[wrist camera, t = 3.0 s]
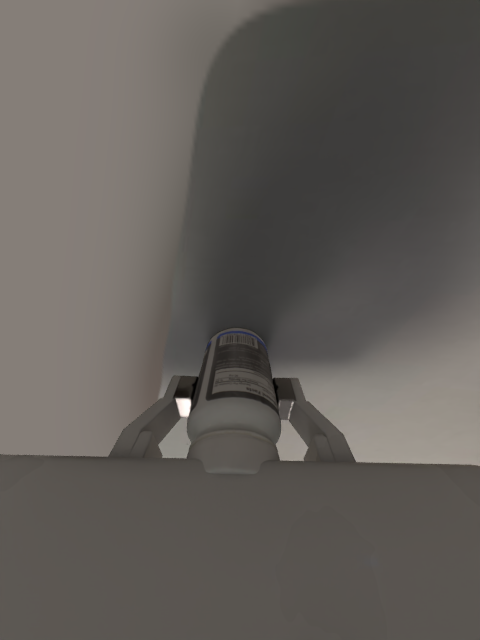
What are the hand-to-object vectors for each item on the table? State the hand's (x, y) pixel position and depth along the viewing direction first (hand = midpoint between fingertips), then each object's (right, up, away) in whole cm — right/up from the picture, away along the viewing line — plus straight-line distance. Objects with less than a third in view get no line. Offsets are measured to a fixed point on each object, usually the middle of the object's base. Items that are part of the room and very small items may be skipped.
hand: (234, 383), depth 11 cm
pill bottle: (0, +2, +3) cm, 3 cm away
